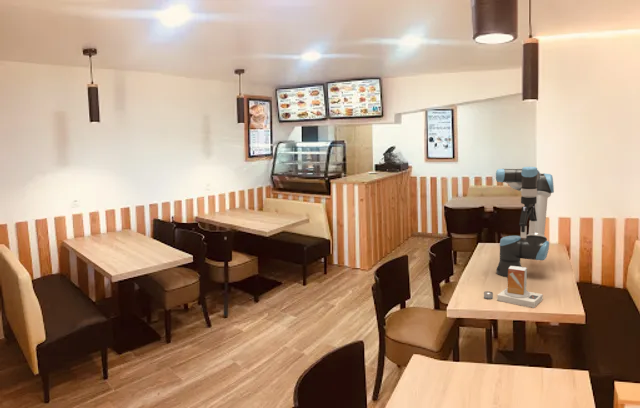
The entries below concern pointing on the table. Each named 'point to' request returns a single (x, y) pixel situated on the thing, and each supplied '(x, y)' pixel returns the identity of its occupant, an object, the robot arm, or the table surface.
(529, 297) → the scale
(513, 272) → the small box
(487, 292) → the spacer
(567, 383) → the table surface
